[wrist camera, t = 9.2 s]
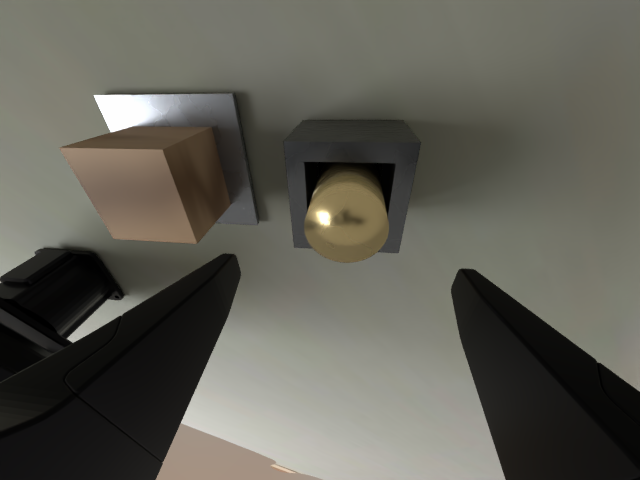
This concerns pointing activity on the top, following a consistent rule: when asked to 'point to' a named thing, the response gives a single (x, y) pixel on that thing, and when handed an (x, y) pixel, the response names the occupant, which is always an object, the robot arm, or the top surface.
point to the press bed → (194, 113)
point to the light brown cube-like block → (153, 181)
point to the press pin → (347, 212)
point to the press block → (357, 147)
